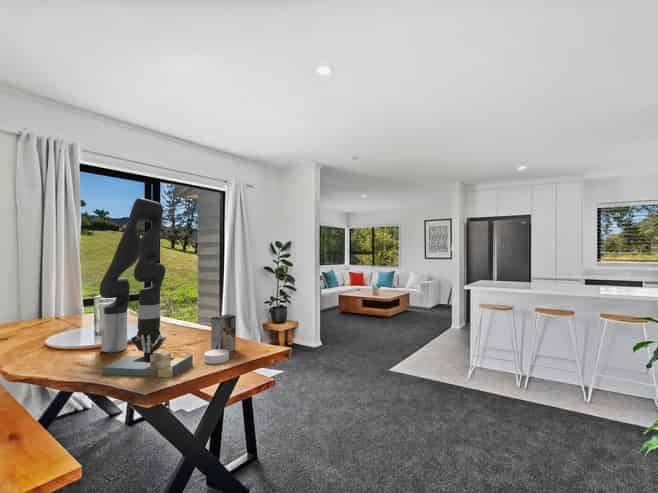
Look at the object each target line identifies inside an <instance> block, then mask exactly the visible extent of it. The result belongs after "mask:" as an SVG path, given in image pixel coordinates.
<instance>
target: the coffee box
mask: <svg viewBox="0 0 658 493" xmlns="http://www.w3.org/2000/svg"><path fill="white" fill-rule="evenodd" d="M236 317H237V315H234V314H222V315H216V316H211V317H210V318H211V321H210V322H211V323H210V326H211V328H210V330H211V331H210V332H211V336H210V339H211V342H210V344H211V345H210V348H211V350H214V349H225V350H228V351H229V353H230V352H234V351H236V349H237V348H236V347H237V346H236V345H237V344H236V343H237V341H236V333H237V332H236V328H237V327H236V326H237V324H236V323H237V322H236V321H237V320H236Z"/></svg>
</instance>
